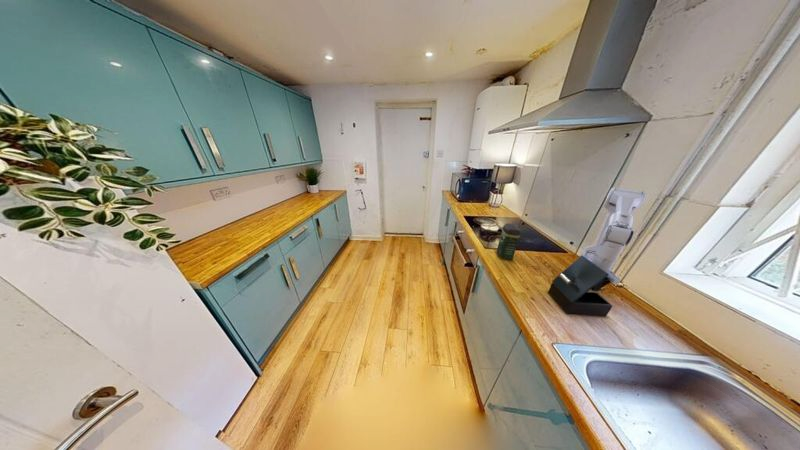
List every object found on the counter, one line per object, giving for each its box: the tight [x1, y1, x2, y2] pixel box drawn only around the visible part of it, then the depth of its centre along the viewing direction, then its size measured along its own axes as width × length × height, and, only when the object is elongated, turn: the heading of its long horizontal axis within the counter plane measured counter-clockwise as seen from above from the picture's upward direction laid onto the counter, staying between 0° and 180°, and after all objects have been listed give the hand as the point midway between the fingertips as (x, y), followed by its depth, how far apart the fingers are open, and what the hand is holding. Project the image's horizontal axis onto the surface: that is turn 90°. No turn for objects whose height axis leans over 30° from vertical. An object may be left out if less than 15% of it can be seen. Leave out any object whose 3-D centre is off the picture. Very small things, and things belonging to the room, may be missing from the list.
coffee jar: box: [496, 223, 522, 261], centre depth 107 cm, size 10×8×19 cm
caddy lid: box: [551, 254, 609, 303], centre depth 74 cm, size 15×11×5 cm
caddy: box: [547, 282, 613, 318], centre depth 79 cm, size 14×11×6 cm
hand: (589, 285), depth 78 cm, fingers closed on scrap block, 4 cm apart
